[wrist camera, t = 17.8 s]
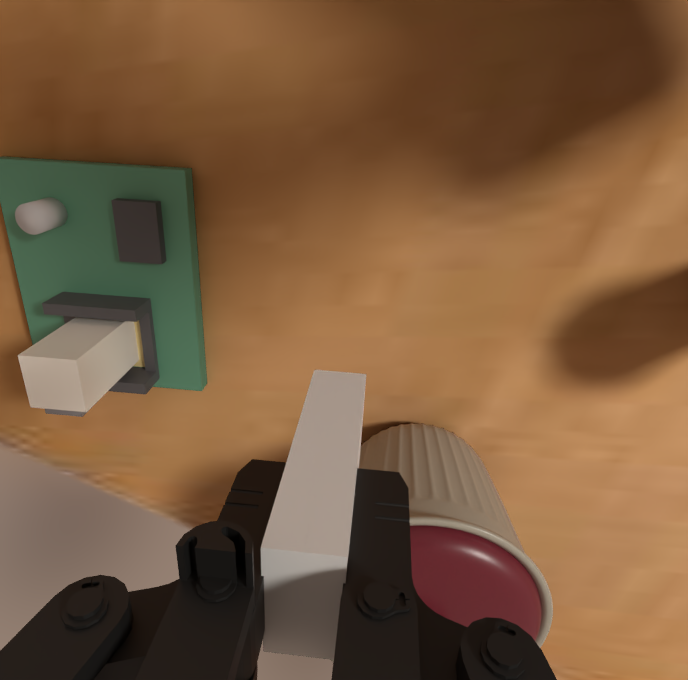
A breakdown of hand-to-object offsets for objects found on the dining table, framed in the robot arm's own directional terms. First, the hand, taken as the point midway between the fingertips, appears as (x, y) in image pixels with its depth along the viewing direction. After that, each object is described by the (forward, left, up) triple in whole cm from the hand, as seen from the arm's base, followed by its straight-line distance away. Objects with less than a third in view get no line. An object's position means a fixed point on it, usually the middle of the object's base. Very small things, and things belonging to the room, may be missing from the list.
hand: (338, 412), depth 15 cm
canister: (+25, +6, -30) cm, 39 cm away
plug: (+12, -23, -28) cm, 38 cm away
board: (+7, -23, -29) cm, 38 cm away
